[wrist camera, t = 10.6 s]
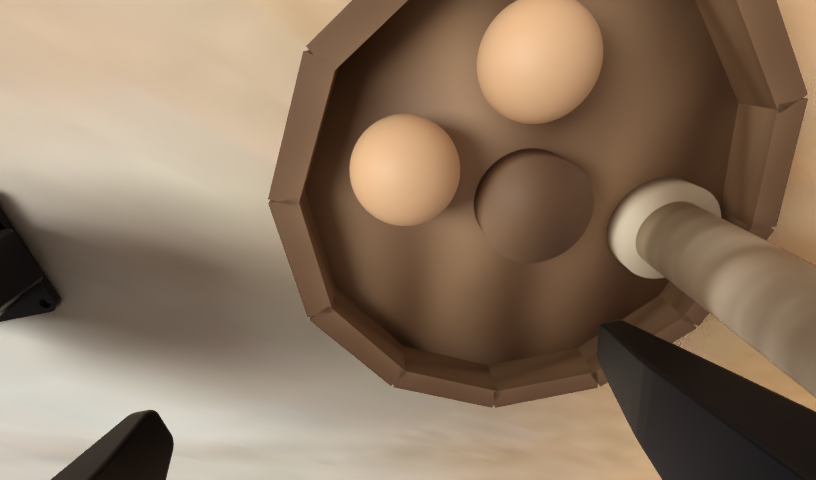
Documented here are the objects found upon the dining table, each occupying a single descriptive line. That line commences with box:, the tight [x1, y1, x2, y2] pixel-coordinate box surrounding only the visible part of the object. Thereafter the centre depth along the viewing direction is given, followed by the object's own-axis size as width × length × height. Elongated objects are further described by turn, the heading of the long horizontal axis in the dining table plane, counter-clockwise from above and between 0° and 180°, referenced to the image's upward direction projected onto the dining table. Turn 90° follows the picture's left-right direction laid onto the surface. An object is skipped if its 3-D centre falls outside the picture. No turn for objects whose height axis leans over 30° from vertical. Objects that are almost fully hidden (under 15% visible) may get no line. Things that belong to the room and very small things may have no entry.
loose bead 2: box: [477, 0, 603, 124], centre depth 15 cm, size 4×4×4 cm
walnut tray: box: [268, 0, 808, 407], centre depth 20 cm, size 22×22×3 cm
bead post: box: [607, 177, 816, 398], centre depth 15 cm, size 5×5×15 cm
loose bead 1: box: [349, 114, 460, 226], centre depth 17 cm, size 4×4×4 cm
